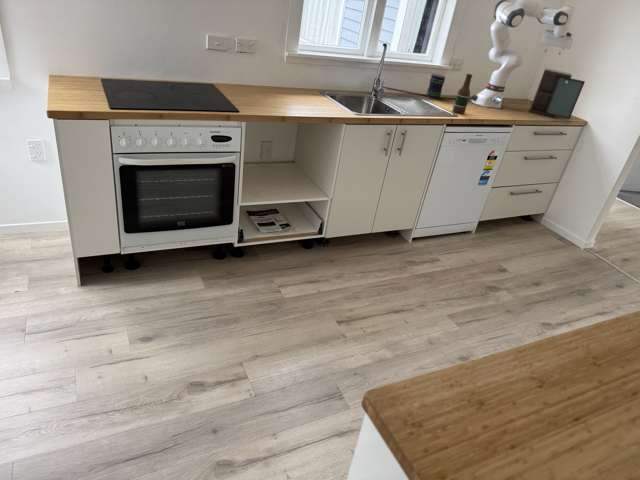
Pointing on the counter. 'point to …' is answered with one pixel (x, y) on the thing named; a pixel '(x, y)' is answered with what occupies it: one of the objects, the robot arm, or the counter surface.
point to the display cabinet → (546, 91)
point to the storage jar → (435, 86)
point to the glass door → (564, 97)
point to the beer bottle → (462, 96)
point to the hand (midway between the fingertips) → (552, 53)
